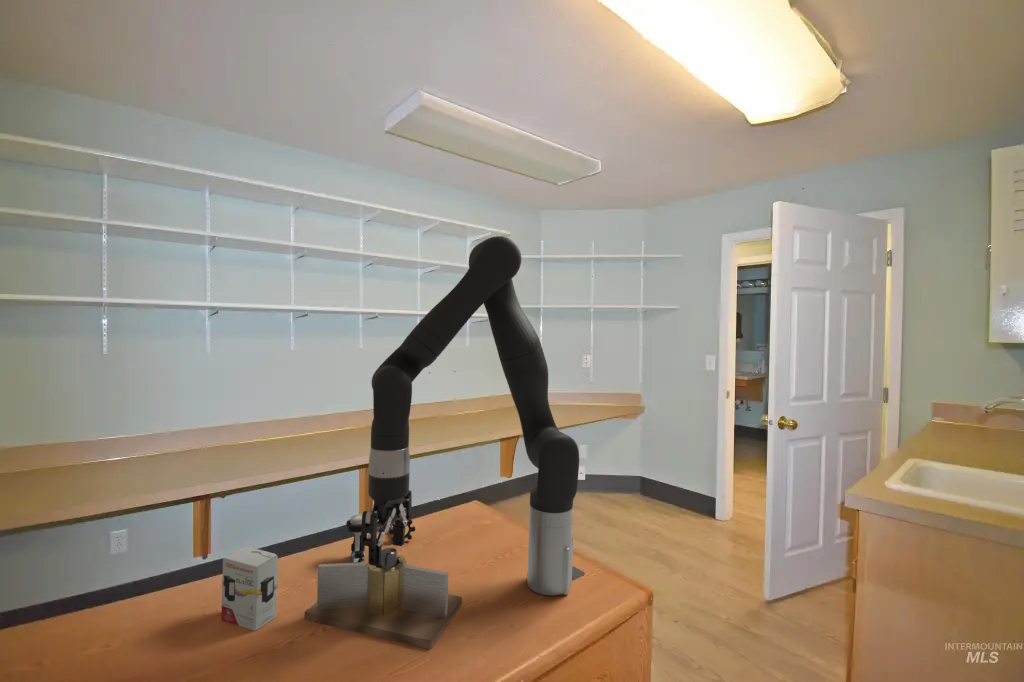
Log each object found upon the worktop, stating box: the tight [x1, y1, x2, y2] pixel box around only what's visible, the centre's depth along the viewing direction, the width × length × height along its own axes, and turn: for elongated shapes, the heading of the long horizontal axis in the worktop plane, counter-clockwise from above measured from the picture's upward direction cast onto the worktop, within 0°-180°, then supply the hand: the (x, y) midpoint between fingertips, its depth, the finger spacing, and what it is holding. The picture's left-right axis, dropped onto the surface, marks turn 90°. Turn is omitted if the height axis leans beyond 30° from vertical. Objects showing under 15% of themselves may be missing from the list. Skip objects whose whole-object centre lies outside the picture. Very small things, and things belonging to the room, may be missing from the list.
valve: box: [387, 508, 416, 542], centre depth 126 cm, size 7×7×12 cm
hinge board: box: [304, 593, 463, 650], centre depth 91 cm, size 26×14×2 cm, turn 74°
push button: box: [345, 513, 366, 563], centre depth 110 cm, size 7×5×10 cm
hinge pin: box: [380, 547, 398, 569], centre depth 91 cm, size 3×3×10 cm
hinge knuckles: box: [316, 554, 449, 618], centre depth 90 cm, size 24×9×8 cm, turn 74°
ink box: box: [220, 546, 279, 632], centre depth 88 cm, size 9×5×12 cm, turn 70°
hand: (387, 554), depth 91 cm, fingers open, 8 cm apart
